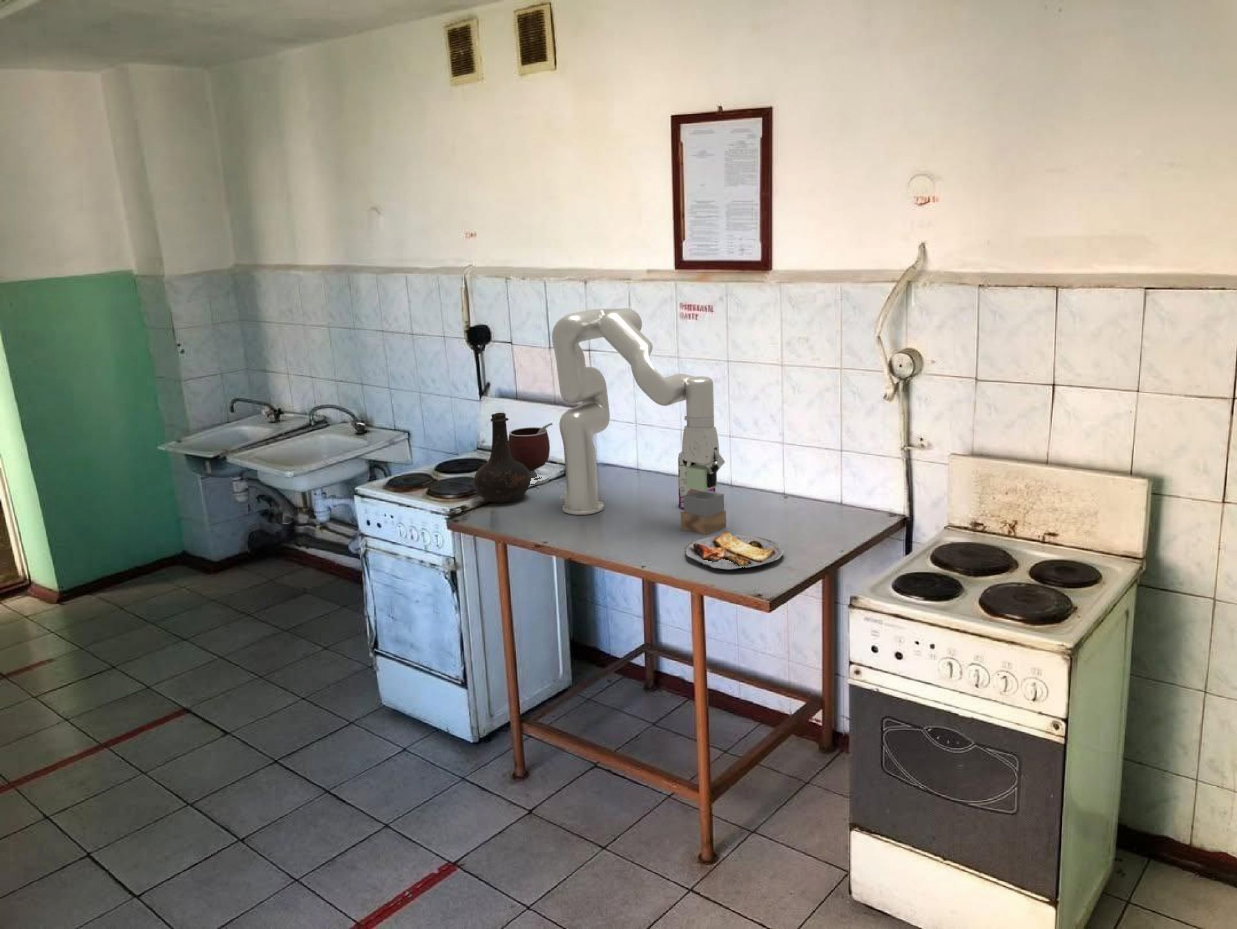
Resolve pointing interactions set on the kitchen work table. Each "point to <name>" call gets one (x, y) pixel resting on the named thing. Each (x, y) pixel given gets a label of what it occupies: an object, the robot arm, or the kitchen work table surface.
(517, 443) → the mate gourd
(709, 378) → the robot arm
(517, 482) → the glass bottle
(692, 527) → the walnut base block
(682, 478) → the candy bar box
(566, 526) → the kitchen work table surface
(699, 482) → the green cube
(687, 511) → the gray middle block
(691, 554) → the food plate
